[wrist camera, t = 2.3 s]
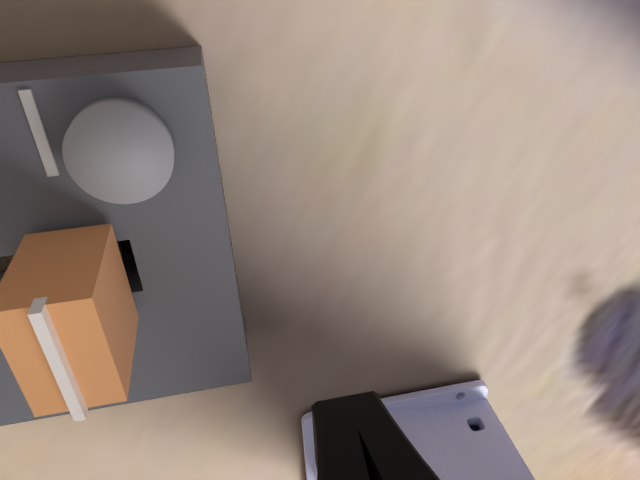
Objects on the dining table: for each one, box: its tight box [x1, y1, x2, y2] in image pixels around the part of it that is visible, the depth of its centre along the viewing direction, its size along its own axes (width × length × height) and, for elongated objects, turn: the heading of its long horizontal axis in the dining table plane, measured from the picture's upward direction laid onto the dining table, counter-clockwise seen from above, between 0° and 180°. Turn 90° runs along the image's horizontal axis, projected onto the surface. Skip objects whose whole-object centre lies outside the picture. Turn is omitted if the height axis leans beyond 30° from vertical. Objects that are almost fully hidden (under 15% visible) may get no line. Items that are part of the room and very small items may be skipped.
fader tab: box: [0, 223, 139, 422], centre depth 16 cm, size 2×4×6 cm, turn 2°
